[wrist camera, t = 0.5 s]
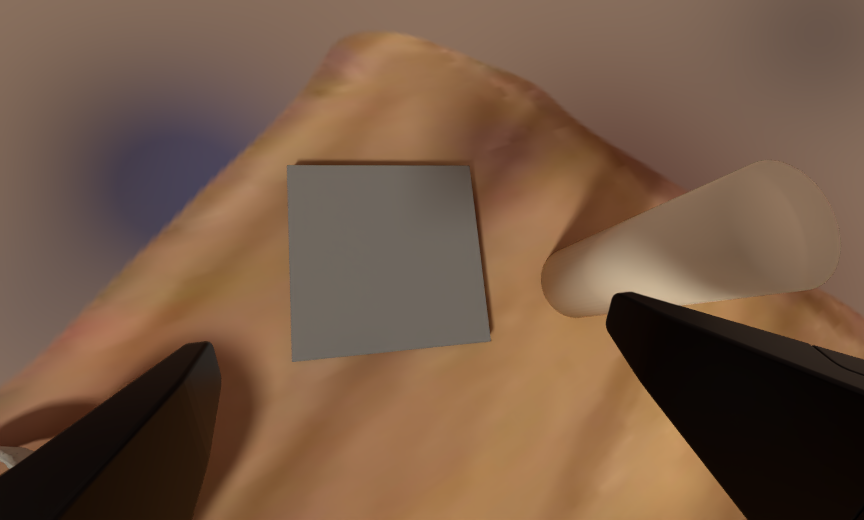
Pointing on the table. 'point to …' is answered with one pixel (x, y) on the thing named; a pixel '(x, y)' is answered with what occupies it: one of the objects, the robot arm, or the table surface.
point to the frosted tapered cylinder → (705, 246)
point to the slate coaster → (383, 260)
